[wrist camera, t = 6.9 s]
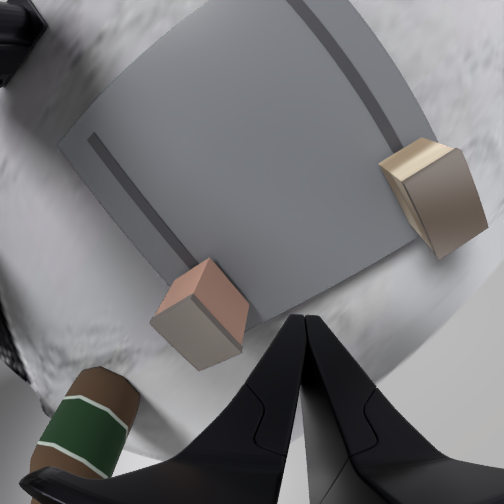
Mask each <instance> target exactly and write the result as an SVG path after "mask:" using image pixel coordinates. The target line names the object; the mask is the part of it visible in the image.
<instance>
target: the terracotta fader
mask: <svg viewBox="0 0 504 504" xmlns="http://www.w3.org/2000/svg"><path fill="white" fill-rule="evenodd" d="M248 309H249V303H248V302H247V301H246V300H245V298H244V297H243V296H242V295H241V294H240V293H239V291H238V290H237V289H236V288H235V287H234V285H233V284H232V283H231V282H230V281H229V280H228V278H227V277H226V276H225V275H224V274H223V272H222V271H221V270H220V269H219V268H218V266H217V265H216V264H215V263H214V262H213V260H212V259H211V258H210V257H209V258H208V259H206V260H205V261H203V262H202V263H200V264H199V265H197V266H195V267H194V268H192V269H191V270H189V271H188V272H186V273H185V274H183V275H182V276H180V277H179V278H177V279H175V280H174V282H173V284H172V286H171V287H170V289H169V291H168V293H167V294H166V296H165V298H164V300H163V301H162V303H161V305H160V307H159V309H158V310H157V312H156V314H155V316H154V317H152V319H151V321H150V322H149V323H150V324H151V326H152V327H153V328H154V329H155V330H156V331H157V332H158V333H159V334H160V335H161V336H162V337H163V338H164V339H165V340H166V341H167V342H168V343H169V344H170V345H171V346H173V347H174V348H175V349H176V350H177V351H178V352H179V353H180V354H181V355H182V356H183V357H184V358H185V359H186V360H187V361H188V362H189V363H190V364H191V365H192V366H194V367H195V368H196V369H197V370H198V371H201V370H204V369H206V368H208V367H211V366H213V365H215V364H218V363H220V362H222V361H225V360H227V359H229V358H232V357H234V356H236V355H239V354H241V353H242V348H243V347H242V341H243V336H244V330H245V325H246V320H247V314H248Z"/></svg>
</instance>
